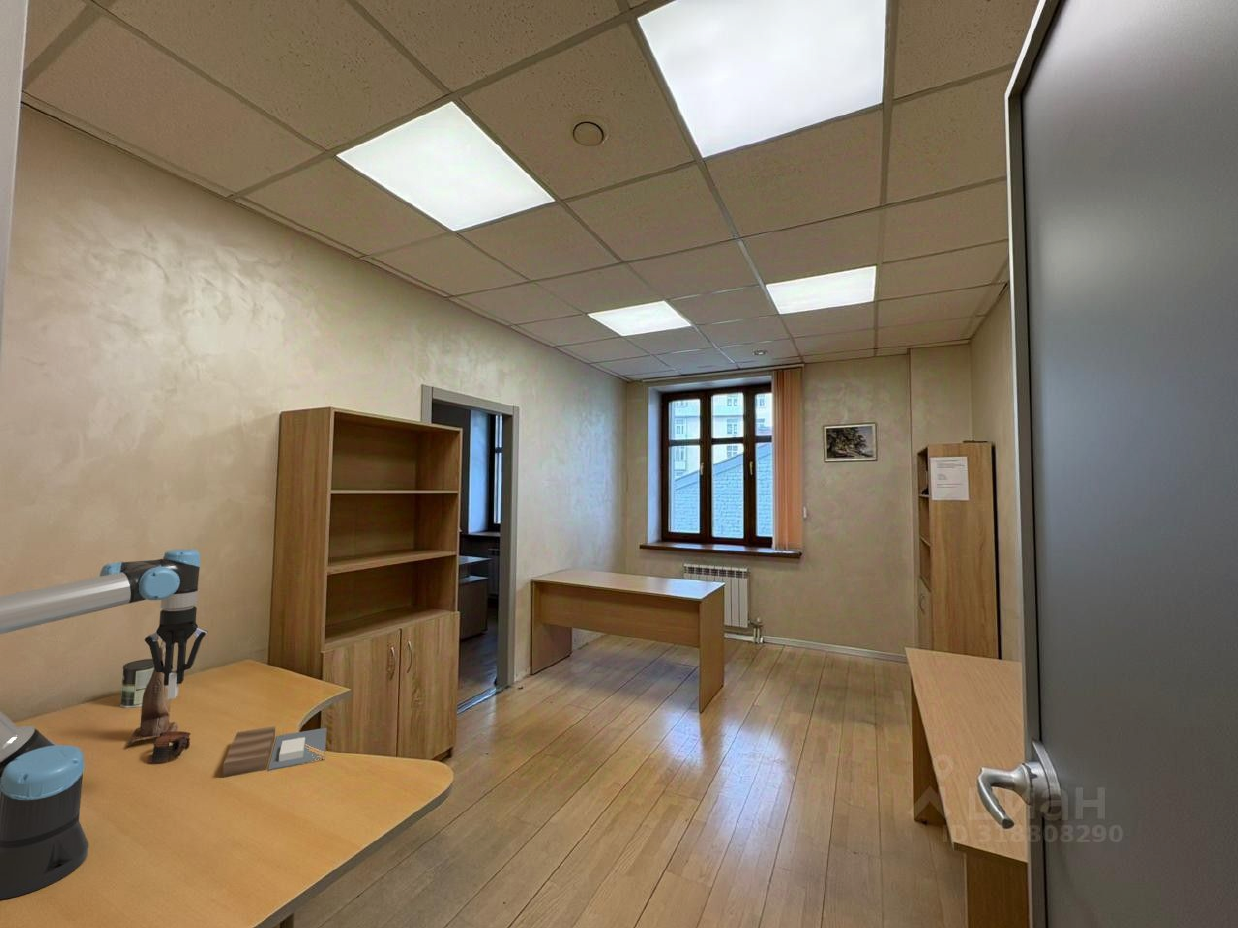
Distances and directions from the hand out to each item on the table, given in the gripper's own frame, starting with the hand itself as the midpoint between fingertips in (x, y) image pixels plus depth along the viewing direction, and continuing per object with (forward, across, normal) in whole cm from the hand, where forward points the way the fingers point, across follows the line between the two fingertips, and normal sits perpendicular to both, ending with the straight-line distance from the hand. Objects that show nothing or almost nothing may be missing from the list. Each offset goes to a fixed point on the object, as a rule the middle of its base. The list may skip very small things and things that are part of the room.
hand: (172, 696), depth 137 cm
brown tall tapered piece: (+25, +12, -37) cm, 46 cm away
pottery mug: (+25, +4, -21) cm, 33 cm away
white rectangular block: (+22, -28, -8) cm, 36 cm away
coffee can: (+25, +25, -73) cm, 81 cm away
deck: (+24, -17, -11) cm, 32 cm away
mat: (+24, -30, -11) cm, 40 cm away
